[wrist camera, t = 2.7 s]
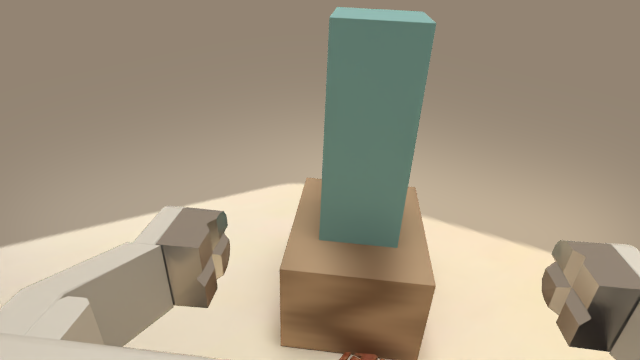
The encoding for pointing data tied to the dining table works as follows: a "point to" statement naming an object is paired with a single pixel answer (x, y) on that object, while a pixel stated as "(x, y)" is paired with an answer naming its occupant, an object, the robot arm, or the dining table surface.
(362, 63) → the tall teal pillar
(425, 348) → the dining table surface
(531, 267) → the dining table surface
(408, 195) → the block
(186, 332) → the dining table surface
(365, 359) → the key
